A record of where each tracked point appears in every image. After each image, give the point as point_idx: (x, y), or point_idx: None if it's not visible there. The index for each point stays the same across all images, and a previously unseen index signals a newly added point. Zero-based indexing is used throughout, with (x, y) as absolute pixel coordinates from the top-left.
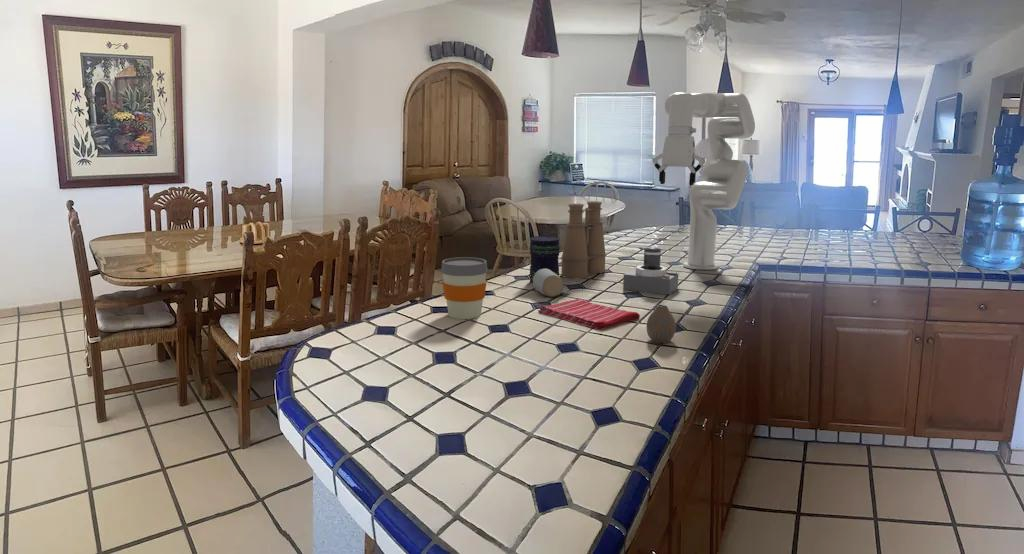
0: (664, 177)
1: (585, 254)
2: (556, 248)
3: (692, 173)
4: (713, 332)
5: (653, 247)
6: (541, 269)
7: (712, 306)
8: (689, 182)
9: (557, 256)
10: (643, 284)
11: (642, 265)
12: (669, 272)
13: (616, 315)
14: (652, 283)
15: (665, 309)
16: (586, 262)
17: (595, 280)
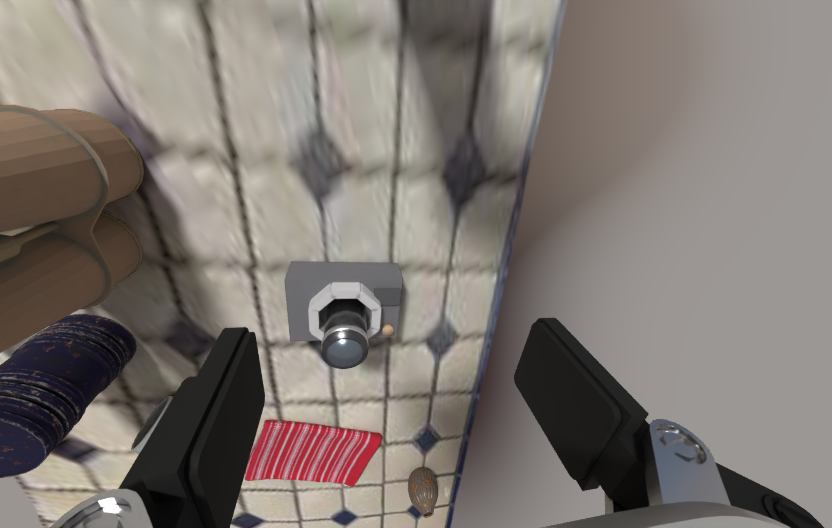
0: (235, 409)
1: (91, 284)
2: (68, 423)
3: (604, 466)
4: (468, 432)
5: (343, 342)
6: (137, 451)
7: (467, 347)
8: (524, 397)
9: (82, 393)
10: None
11: (316, 307)
12: (385, 300)
13: (354, 450)
14: None
15: (431, 513)
16: (112, 267)
17: (190, 271)
